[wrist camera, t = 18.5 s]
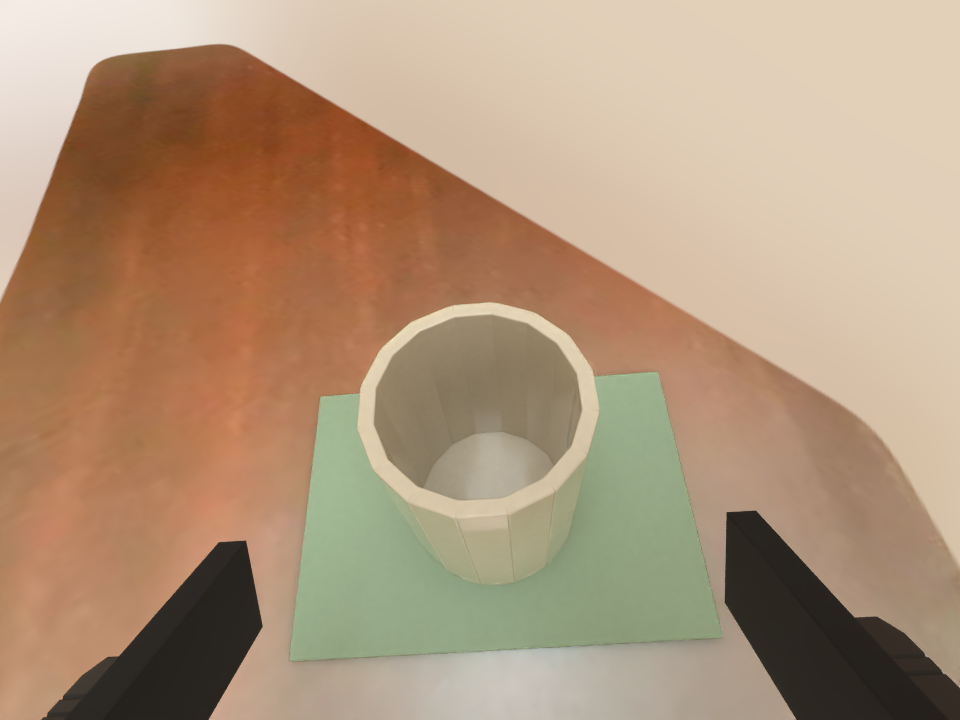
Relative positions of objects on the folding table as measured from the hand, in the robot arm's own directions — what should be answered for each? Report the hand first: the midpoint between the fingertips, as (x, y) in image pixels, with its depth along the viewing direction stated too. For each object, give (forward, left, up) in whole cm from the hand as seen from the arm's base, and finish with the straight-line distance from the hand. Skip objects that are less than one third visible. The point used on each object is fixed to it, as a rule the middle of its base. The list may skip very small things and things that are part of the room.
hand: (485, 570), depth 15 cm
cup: (0, -6, -13) cm, 14 cm away
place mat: (0, -6, -13) cm, 15 cm away
